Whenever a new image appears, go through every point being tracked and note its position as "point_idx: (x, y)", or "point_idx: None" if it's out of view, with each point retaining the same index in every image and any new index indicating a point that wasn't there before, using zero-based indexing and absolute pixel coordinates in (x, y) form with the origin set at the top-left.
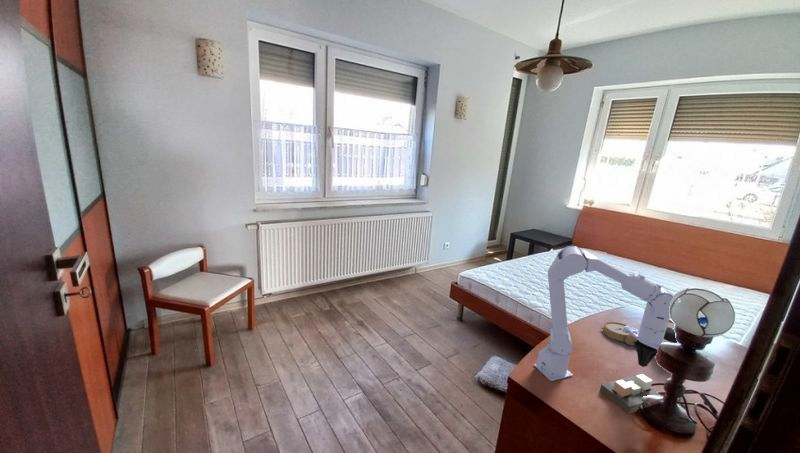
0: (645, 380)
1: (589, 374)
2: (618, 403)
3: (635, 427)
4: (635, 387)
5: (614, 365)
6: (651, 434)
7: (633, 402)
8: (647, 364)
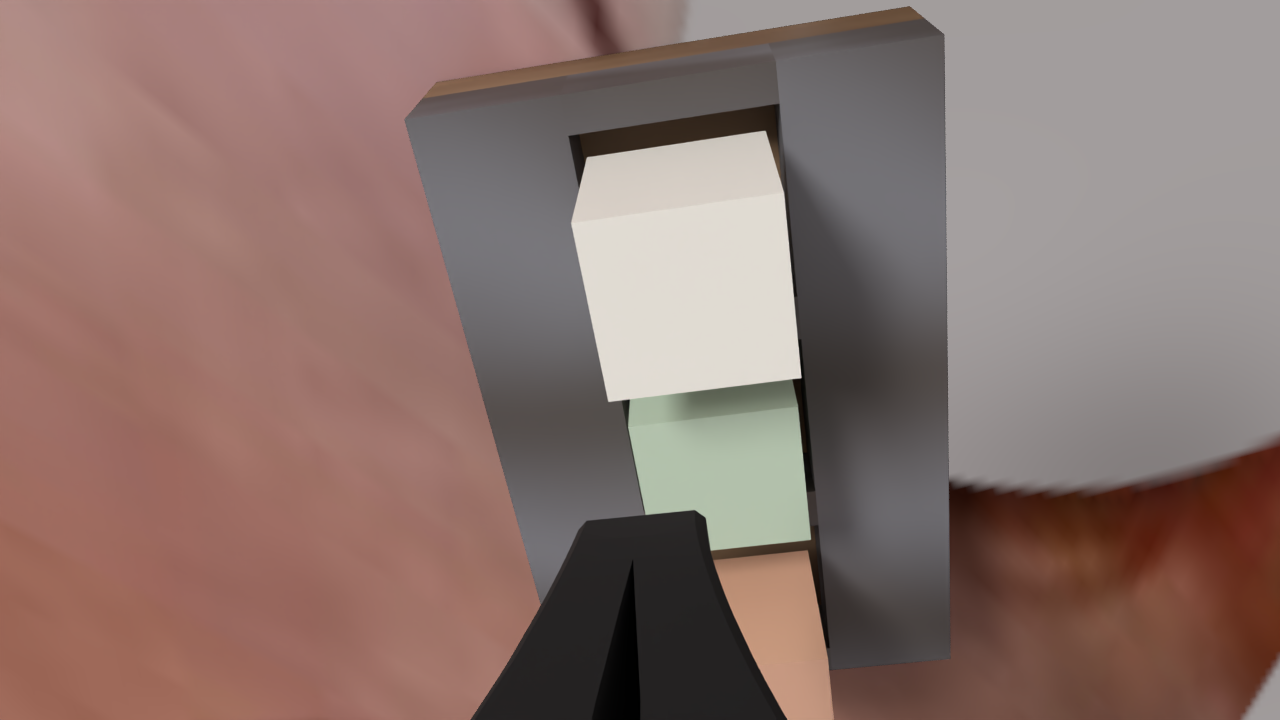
0: (755, 342)
1: (292, 541)
2: None
3: (1076, 634)
4: (775, 489)
5: (11, 11)
6: (1198, 561)
7: (910, 574)
8: (708, 554)
